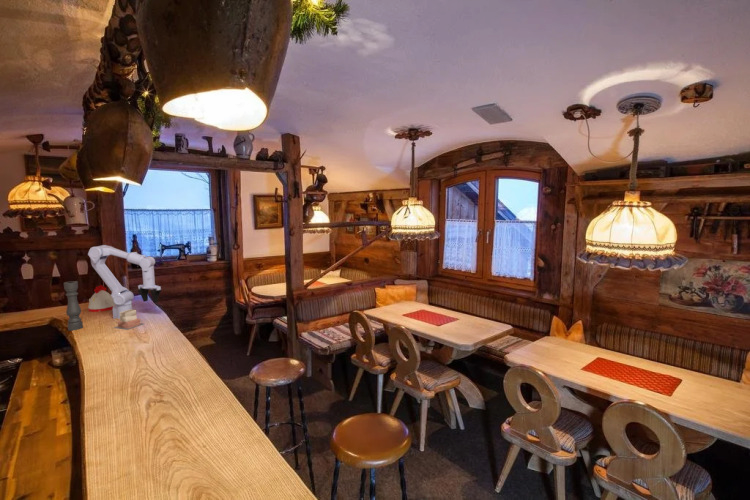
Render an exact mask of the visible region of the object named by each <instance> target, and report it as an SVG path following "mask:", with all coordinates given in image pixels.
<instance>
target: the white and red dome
mask: <svg viewBox="0 0 750 500" xmlns="http://www.w3.org/2000/svg"><path fill="white" fill-rule="evenodd" d="M93 291H94V293H93V294H92V295H91V297H89V299H88V302H89V303H88V306H87V308H88V312H91V313H97V312H98V313H99V312H106V311H110V310H113V306H114V305H115V303H114V301H113V298H112V296H111V294H110V293H109V292H108V291H107V287H105V286H103V285H102V284H100V285H98V286H95V288H94V289H93Z"/></svg>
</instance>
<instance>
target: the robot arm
mask: <svg viewBox="0 0 750 500" xmlns="http://www.w3.org/2000/svg"><path fill="white" fill-rule="evenodd" d="M87 256H89V258H90V264H91V266H92V268H93V270H95V272H96V273H97V274H98V276H99V277H100V278H101V279H102V281H103V282H104V283H105V285H106V286H107V287H108V289H109V290H110V291H111V294H110V295H111V296H112V298H113V301H114V303H115V305H114V306H113V309H112V317H113V319H118V320H120V312H123V311H126V310H130V309H133V303H132V302H133V299H134V296H135V295H134V293H133V292H132V291H131V290H129V289H128V288H127V287H125V286H122V284H121V282H119V280H118V279H117V278H116V277H115V275H114V273H112V271H111V269H109V267H108V266H107V265H106V261H107V258H108V257H109V256H114V257H118V258H122V259H126V260H127V262H128V263H131V264H133V265H134V264H135V265H137V266H140V268H141V272H142V284H139V285H137V287H138V290H137V292H138V293H139V294H140V297H141V298H142V301H143V302H148V300H149V292H150V294H151V296H152V302H153V303H154V304H155V303H158V302H159V297H160V294H161V292H162V288H161V287H162V286H159V285H156V282H155V281H156V280H155V279H156V277H155V264H156V260H155V258H154V257H152V256H146V255H145V254H143V255H142V254H140V253H138V252H136V251H133V252H129V253H128V252H127V251H124V250H121V249H118V248H115V247H114V246H112V245H106V244H102V245H98V246H92V247H90V249H89V250H88V253H87ZM149 290H150V291H149Z"/></svg>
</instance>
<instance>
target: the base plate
mask: <svg viewBox="0 0 750 500" xmlns="http://www.w3.org/2000/svg"><path fill="white" fill-rule="evenodd" d="M143 325H144V323H141V322H140V325H137V326H134V327H131V328H128V329H127V328H120V327H118V325H117V326H115V327H113V329H118V330H127V331H128V330H129V331H130V330H131V329H134V328H137V327H141V326H143Z"/></svg>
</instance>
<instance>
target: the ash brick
mask: <svg viewBox="0 0 750 500" xmlns="http://www.w3.org/2000/svg"><path fill="white" fill-rule="evenodd" d="M135 319H138V317H137V310H136V309H133V308H132V309H130V310H126V311H123V312H120V319H119V321H120V322H129V321H132V320H135Z"/></svg>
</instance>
